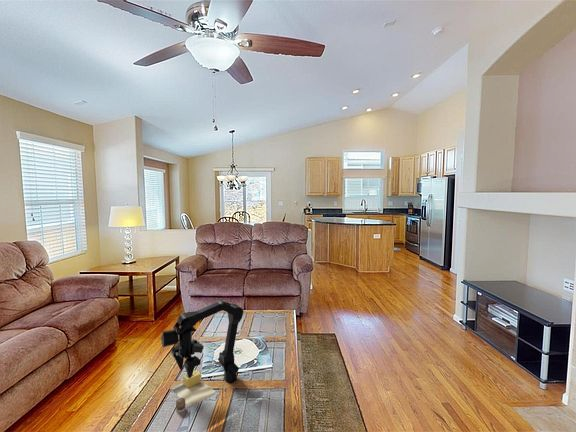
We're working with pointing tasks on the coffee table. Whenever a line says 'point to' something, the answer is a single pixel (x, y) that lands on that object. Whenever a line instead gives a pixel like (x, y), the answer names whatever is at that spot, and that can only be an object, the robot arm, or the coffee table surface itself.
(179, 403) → the peg
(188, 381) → the block
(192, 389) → the plywood panel
